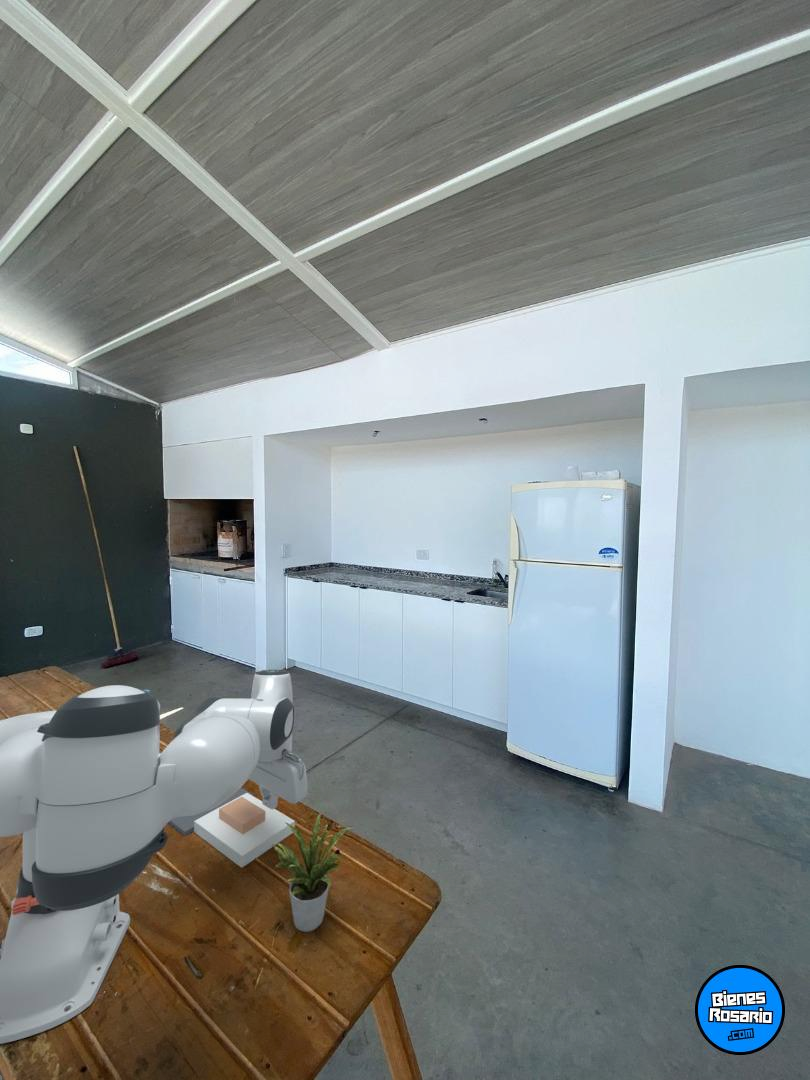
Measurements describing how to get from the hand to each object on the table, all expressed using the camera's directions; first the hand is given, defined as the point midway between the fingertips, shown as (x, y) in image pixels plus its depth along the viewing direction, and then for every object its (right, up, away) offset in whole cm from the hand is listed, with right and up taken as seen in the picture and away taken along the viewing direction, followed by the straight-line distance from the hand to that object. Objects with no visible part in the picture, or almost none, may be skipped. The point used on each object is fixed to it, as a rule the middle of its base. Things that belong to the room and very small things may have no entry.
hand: (269, 805), depth 98 cm
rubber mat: (-21, -8, +15) cm, 27 cm away
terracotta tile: (-8, -7, +6) cm, 12 cm away
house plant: (+13, -10, -16) cm, 23 cm away
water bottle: (-41, -8, +24) cm, 48 cm away
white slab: (-7, -9, +5) cm, 13 cm away
